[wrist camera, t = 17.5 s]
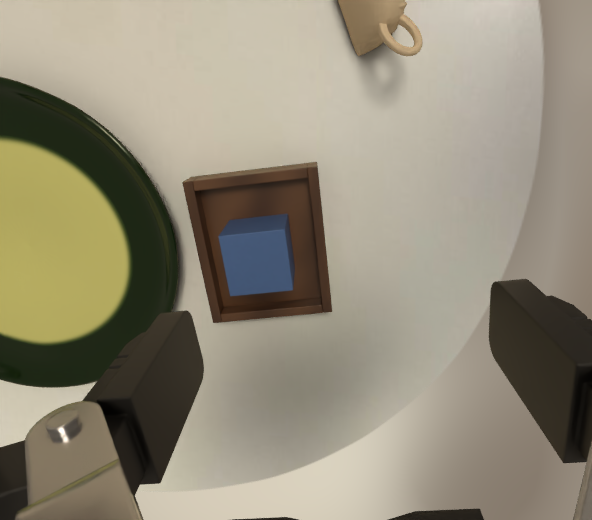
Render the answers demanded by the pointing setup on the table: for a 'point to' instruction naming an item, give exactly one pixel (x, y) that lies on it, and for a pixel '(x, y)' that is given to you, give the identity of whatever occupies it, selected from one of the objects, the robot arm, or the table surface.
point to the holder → (256, 203)
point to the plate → (74, 243)
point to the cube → (258, 255)
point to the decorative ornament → (378, 25)
